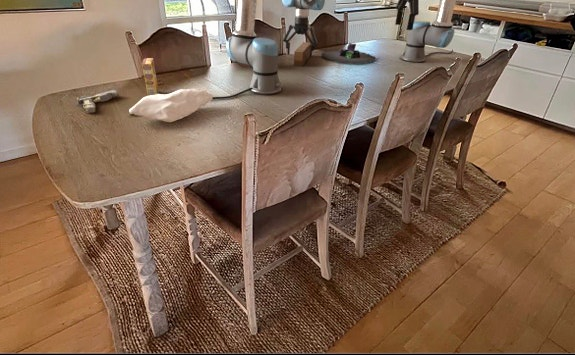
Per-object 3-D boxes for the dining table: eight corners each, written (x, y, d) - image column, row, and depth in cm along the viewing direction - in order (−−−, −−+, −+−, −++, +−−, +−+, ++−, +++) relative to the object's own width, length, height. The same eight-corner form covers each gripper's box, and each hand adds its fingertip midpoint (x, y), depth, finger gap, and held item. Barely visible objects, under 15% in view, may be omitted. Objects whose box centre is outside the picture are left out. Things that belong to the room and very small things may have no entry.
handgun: (128, 97, 156) (111, 87, 164) (86, 107, 144) (70, 97, 152) (129, 103, 157) (113, 94, 165) (88, 114, 146) (72, 103, 154)
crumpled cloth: (117, 110, 146) (113, 90, 140) (195, 92, 166) (194, 73, 160) (143, 139, 134) (140, 118, 128) (223, 116, 154) (224, 96, 148)
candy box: (157, 97, 164) (152, 63, 155) (147, 98, 163) (141, 63, 155) (158, 91, 171) (153, 57, 163) (149, 91, 170) (143, 58, 162)
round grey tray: (386, 59, 233) (388, 44, 229) (346, 66, 216) (347, 50, 211) (349, 51, 258) (350, 37, 253) (310, 56, 240) (311, 42, 236)
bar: (302, 66, 215) (302, 52, 211) (293, 65, 216) (294, 51, 212) (310, 55, 236) (310, 42, 232) (302, 55, 237) (303, 42, 233)
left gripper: (324, 17, 205) (321, 56, 217) (281, 14, 210) (280, 51, 221) (322, 19, 199) (319, 59, 210) (278, 15, 204) (277, 54, 215)
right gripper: (433, -18, 163) (421, 32, 174) (408, -23, 183) (400, 22, 195) (417, -19, 162) (407, 32, 173) (394, -23, 182) (386, 22, 194)
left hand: (299, 55), depth 216 cm, fingers open, 13 cm apart
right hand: (403, 27), depth 184 cm, fingers open, 13 cm apart
